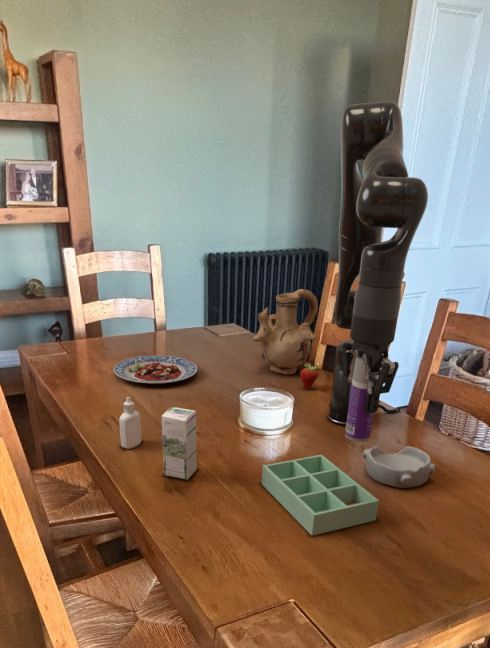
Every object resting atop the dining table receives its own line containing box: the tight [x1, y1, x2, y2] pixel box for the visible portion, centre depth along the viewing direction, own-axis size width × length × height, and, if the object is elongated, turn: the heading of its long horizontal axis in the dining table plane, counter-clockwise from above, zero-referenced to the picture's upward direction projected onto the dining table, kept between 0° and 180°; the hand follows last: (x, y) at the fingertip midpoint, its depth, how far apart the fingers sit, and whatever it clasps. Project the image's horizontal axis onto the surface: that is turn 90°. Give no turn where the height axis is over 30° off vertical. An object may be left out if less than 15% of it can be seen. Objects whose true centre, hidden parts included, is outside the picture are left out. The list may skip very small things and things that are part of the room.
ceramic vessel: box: [252, 288, 319, 376], centre depth 191 cm, size 18×19×25 cm
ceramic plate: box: [113, 354, 198, 385], centre depth 190 cm, size 26×26×3 cm
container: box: [344, 357, 379, 442], centre depth 111 cm, size 5×5×15 cm
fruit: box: [300, 362, 319, 390], centre depth 182 cm, size 5×5×8 cm
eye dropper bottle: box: [118, 396, 143, 450], centre depth 144 cm, size 4×6×12 cm
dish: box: [362, 445, 436, 489], centre depth 137 cm, size 14×14×5 cm
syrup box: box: [161, 406, 198, 481], centre depth 132 cm, size 6×6×14 cm
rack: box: [261, 454, 380, 536], centre depth 126 cm, size 15×22×5 cm
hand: (361, 406), depth 111 cm, fingers closed on container, 4 cm apart
